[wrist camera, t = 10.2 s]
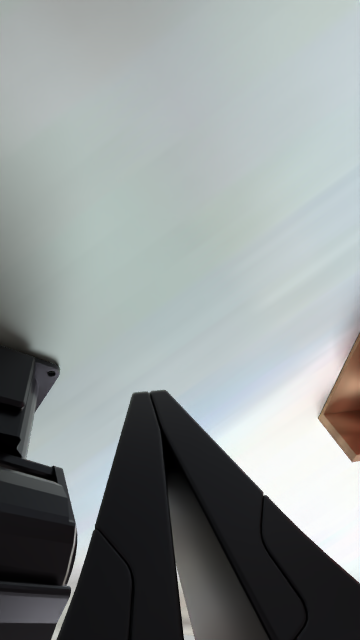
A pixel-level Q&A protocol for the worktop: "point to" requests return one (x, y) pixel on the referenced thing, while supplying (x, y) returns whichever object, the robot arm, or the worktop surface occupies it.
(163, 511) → the robot arm
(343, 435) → the tray
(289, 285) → the worktop surface
